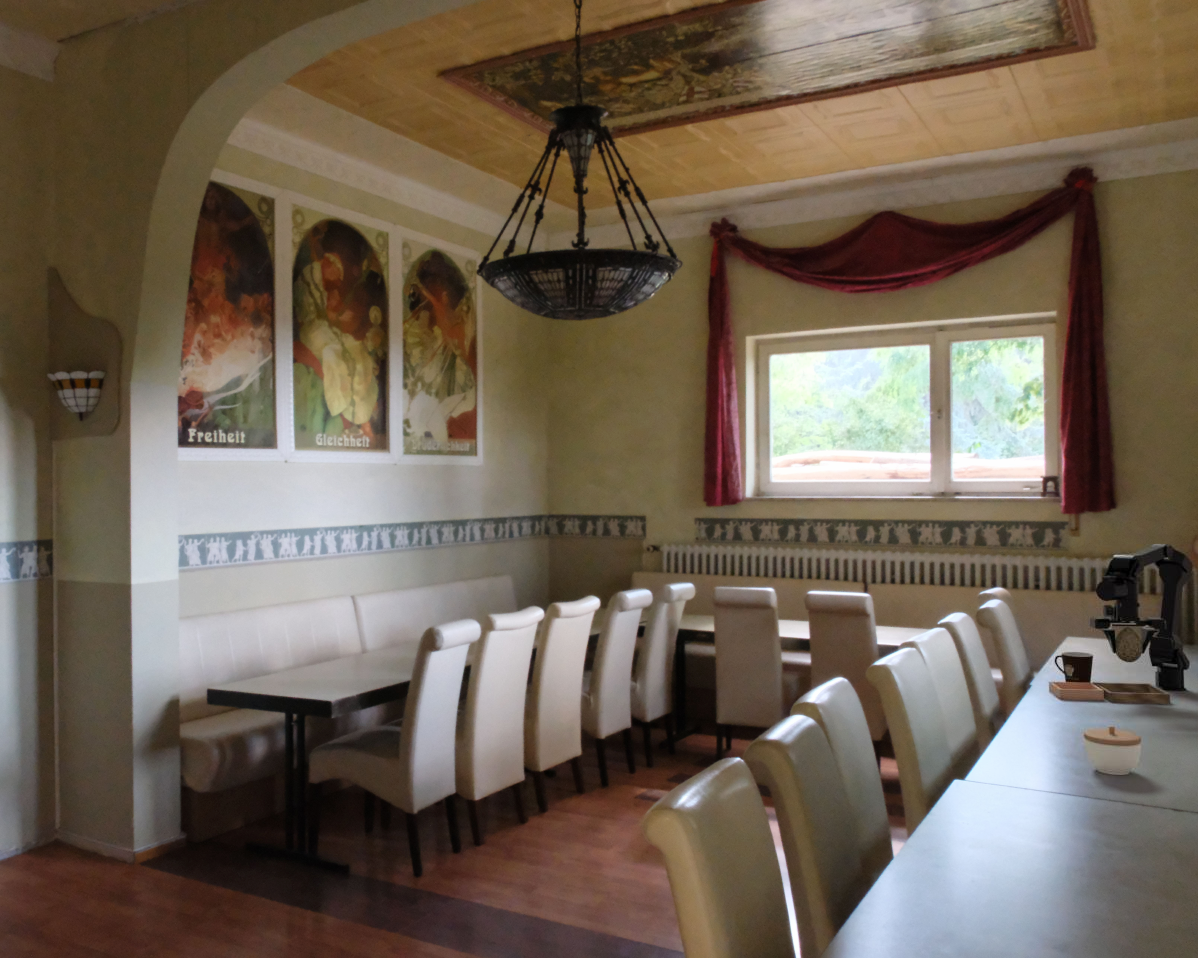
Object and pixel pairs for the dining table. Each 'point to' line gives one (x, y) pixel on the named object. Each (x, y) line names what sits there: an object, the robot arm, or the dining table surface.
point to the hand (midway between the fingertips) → (1128, 653)
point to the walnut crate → (1149, 696)
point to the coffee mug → (1076, 666)
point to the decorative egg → (1128, 645)
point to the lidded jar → (1112, 750)
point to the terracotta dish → (1076, 690)
